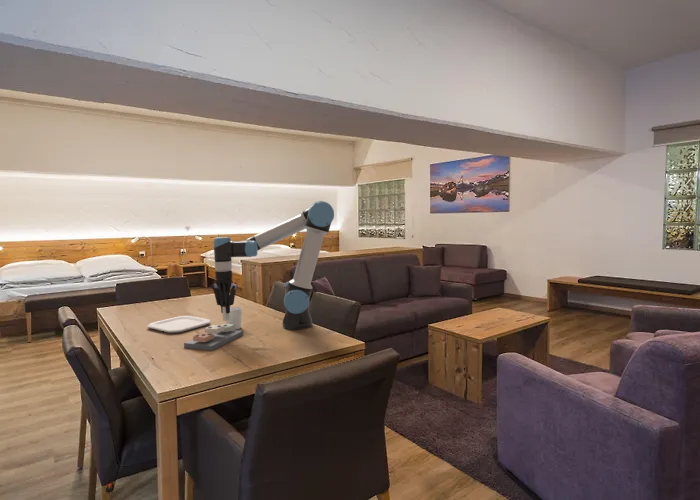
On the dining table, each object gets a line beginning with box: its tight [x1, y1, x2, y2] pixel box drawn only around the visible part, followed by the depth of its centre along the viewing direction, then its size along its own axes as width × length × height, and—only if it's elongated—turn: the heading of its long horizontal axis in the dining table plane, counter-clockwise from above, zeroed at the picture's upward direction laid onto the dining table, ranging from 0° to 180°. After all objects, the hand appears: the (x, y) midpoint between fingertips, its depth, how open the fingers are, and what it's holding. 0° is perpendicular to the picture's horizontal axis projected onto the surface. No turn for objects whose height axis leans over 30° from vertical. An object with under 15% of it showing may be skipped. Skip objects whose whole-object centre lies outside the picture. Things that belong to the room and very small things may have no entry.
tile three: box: [192, 332, 214, 342], centre depth 179 cm, size 6×6×2 cm
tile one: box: [220, 323, 235, 332], centre depth 194 cm, size 6×6×2 cm
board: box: [183, 329, 244, 351], centre depth 187 cm, size 14×24×2 cm, turn 162°
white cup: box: [225, 306, 243, 330], centre depth 208 cm, size 8×8×10 cm
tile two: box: [204, 324, 224, 334], centre depth 186 cm, size 6×6×2 cm
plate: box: [147, 315, 211, 334], centre depth 212 cm, size 25×25×2 cm
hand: (226, 319), depth 194 cm, fingers closed
